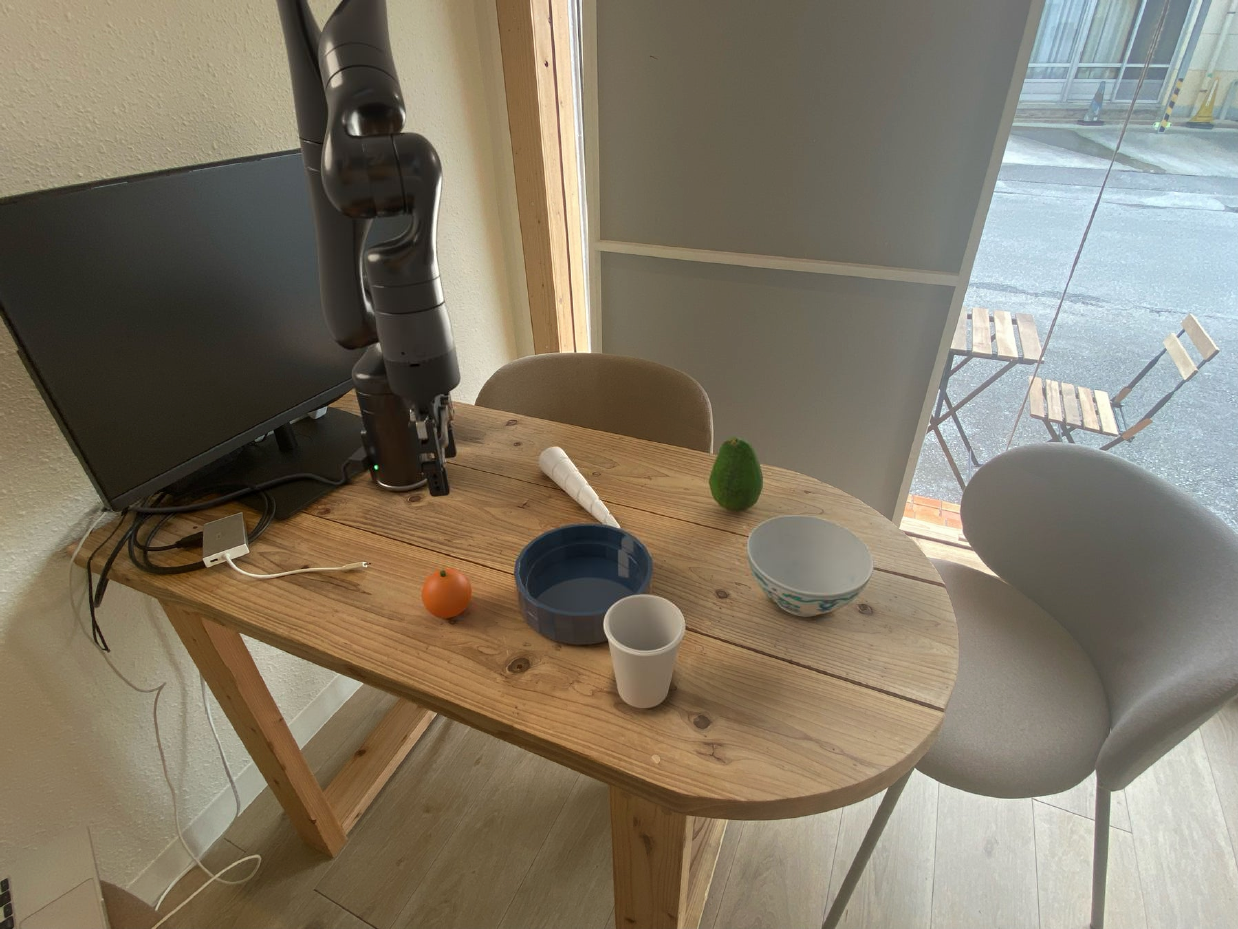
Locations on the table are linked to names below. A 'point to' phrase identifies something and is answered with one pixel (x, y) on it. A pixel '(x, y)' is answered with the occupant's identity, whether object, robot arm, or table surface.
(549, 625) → the bowl
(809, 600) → the chinaware
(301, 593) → the table surface
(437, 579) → the mandarin
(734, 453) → the avocado
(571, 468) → the unicorn horn
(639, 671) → the dixie cup
